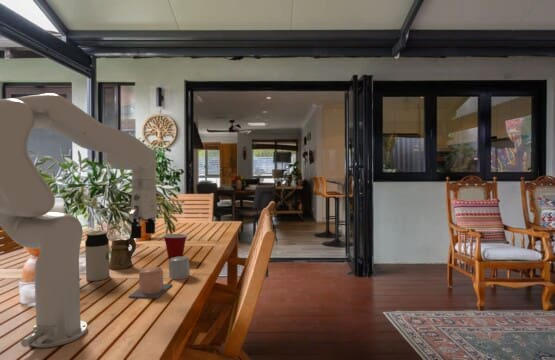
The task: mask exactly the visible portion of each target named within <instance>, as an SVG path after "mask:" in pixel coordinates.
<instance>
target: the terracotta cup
mask: <svg viewBox="0 0 555 360" xmlns="http://www.w3.org/2000/svg"><path fill="white" fill-rule="evenodd" d="M138 275H139V276H138V277H139V280H138V281H139V283H138V284H139V288H140V292H141V293H142V294H153V293H157V292H160V291H161V290H162V289H163V284H164V272H163V269H162V267H158V266H151V267H143V268H142V269H140V270H139V273H138Z"/></svg>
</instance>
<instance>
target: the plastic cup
mask: <svg viewBox="0 0 555 360" xmlns="http://www.w3.org/2000/svg"><path fill="white" fill-rule="evenodd" d="M162 236H163V238H164V242H165V247H166V252H167V253H166V254H167V256H168V257H167V258H168V262H169V261H170V259H171V258H173V257H180V256H184V251H185V247H186V245H185V244H186V240H187V237H188V234H184V233H169V234H164V235H162Z"/></svg>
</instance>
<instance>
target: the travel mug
mask: <svg viewBox="0 0 555 360" xmlns="http://www.w3.org/2000/svg"><path fill="white" fill-rule="evenodd" d="M107 234H108V230H104V229H101V230H91V231H88V232H87V231H86V233H85V235H86V239H85V241H84V243H85V244H84V245H85V246H84V247H85V249H84V251H85V279H86V280H87V281H89V282H98V281H103V280H105V279H108V278H109V277H110V269H109V264H110V250H109V249H110V246H109V245H110V244H109V243H110V242H109V238H108V235H107Z"/></svg>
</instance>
